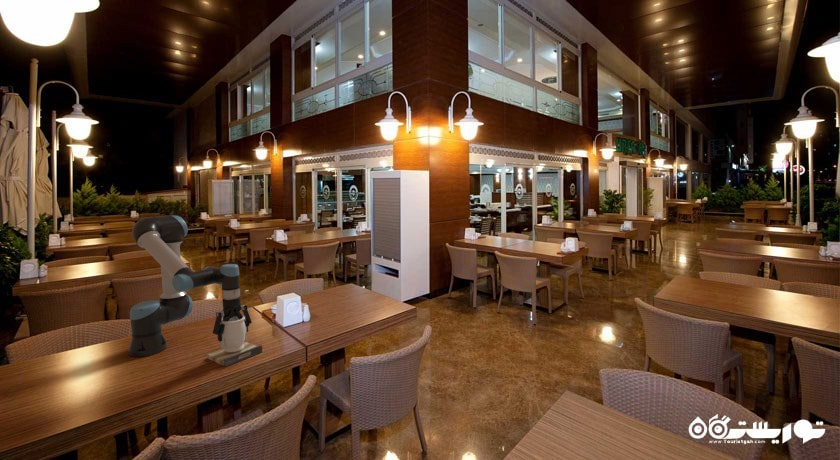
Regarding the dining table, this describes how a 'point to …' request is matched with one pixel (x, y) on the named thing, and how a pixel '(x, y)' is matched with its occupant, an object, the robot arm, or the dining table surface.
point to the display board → (234, 354)
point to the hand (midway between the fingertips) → (233, 343)
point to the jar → (234, 334)
